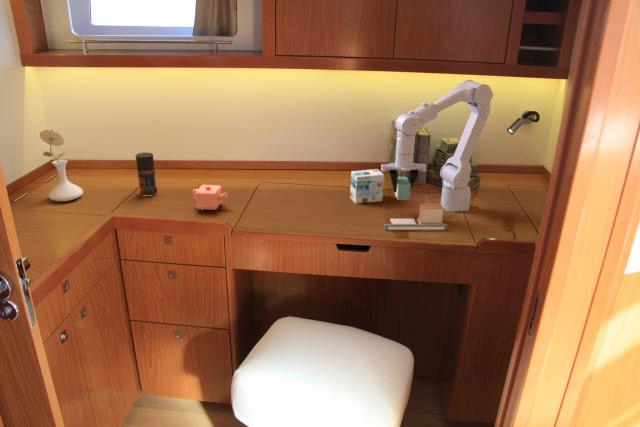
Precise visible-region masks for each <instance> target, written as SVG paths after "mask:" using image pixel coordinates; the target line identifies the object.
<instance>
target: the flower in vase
mask: <svg viewBox="0 0 640 427" xmlns="http://www.w3.org/2000/svg"><path fill="white" fill-rule="evenodd" d="M39 138H40V139H41V140H42V141H43V142H44V143H46V144H48V145H49V151H44V152H43V154H42V156H46V157H49V158H54V159H55V160H53V161H51V164H52V165H53V166H54V167H55V168H56V171H57V174H58V177H59V180H58V181H59V182H58V184H56V185H55V186H54V187H53V188H52V189H51V190H50V192H49V193H48V198H49V199H50V200H51V201H55V202H68V201H69V202H70V201H72V200H73V201H74V200H77V199H78V198H79V197H81V196H82V195H83V194H84V190H83V188H81V187H80V186H79V185H77V184H74V183H73V182H70V181H69V180H68V178H67V173H66V166H67V163H68V162H69V160H67V159H59V158H61V157H62V156H63V155H64V154H65V152H62V153H59V155H57V157H56V156H55V155H54V153H53V151H52V146H53V147H59V146H63V145H64V144H65V139H64V137H63V136H62V134H61V133H59V132H58V131H54V130H53V129H50V130H49V129H43V130H42V131H39Z"/></svg>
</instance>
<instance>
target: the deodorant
mask: <svg viewBox="0 0 640 427" xmlns="http://www.w3.org/2000/svg"><path fill="white" fill-rule="evenodd" d="M135 162H136V167H137V169H136V170H137V176H138V184H139V190H140V196H141V195H154V194H156V193H157V192H158V185H157V177H156V168H155V160H154V154H153V153H152V152H140V153H136V154H135Z"/></svg>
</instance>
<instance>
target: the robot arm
mask: <svg viewBox="0 0 640 427" xmlns="http://www.w3.org/2000/svg"><path fill="white" fill-rule="evenodd" d="M493 97H494V93H493V91H492V88H491V86H489V85H488V84H486V83H481V82H477V81H474V80H472V79H467V80H465V81H463V82H462V83H459V84H457V85H456V87H455V88H453V89H452V90H451V91H449V92H447V93H446V94H445V95H443V96H441V97H439V99H437V100H435V101H433V102H430V101H428V102H424V101H423V102H422V103H421V104H420V106H418V107H417V108H415V109H414V110H409V111H408V113H403V114H400V115H399V116H398V117H397V118H396V120H395V122H394V127H395V129H396V133H397V134H396V148H395V160H394V162H391V163H381V165H380V167H381V168H380V172H381V173H385V172H388V174H389V176H390V179H391V180H390V181H391V184H392V191H393V193H394V192H396V189H397V178H398V177H399V175H398V172H408V174H407V176H408V177H407V178H408V180H409V182H410V183H411V189H410V192H411V190H412V188H413V186H414V183H415V182H416V180H417V178H418V177H419V176H420V175H419V172H420V171H421V172H426V171H427V165H426V164H425V163H417V162H416V163H415V162H414V154H415V142H416V134H418V133H419V131H420V129H421V127H423V126H425V125H426V124H428V123H429V122H432V121H434V120H436V119H437V117H438V116H439V115H438V114H439V113H440V112H442V111H444V110H446V109H448V108H450V107H452V106H454V105H456V104H457V103H460V102H463V103H467V105H468V107H469V110H470V111H471V112H470V115H469V117H468V119H467V122H466V124H465V128H464V130H463V132H462V134H461V137H460V139H459V142H458V144H457V147H456V149H455V150H454V153H453V155H452V156H451V157H449V158H448V159H447V160H446V162H445V164H443V166H442V167H441V169H440V172H439V176H440V178H441V179H442V190H441V198H440V204H441V205H442V206H443V208H444V211H447V212H453V213H454V212H468V211H469V209H470V203H471V197H472V194H471V193H472V191H471V186H470V185H469V183H470V179H471V176H470V175H471V172H472V166H471V164H470V160H471V158H472V156H473V153H474V151H475V148H476V147H477V144H478V141H479V140H480V136H481V135H482V132H483V130H484V127H485V125H486V122H487V120H488V118H489V115H490V113H491V102H492V99H493Z"/></svg>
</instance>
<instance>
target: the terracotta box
mask: <svg viewBox="0 0 640 427" xmlns="http://www.w3.org/2000/svg"><path fill="white" fill-rule="evenodd" d="M418 211H419V212H418V218H417V219H419V221H420V223H421V224H442V222H444V221H443V220H444V214H445V213H444V211H445V210H444V208H443V206H442V205H441V203H420V204H419V210H418Z"/></svg>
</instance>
